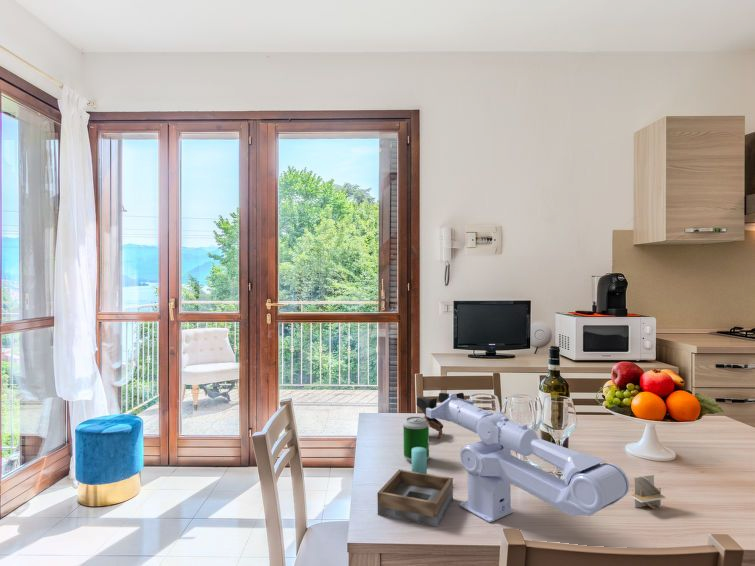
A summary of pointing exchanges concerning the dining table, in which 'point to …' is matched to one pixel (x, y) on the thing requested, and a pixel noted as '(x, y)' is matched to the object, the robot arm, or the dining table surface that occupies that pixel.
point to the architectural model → (646, 492)
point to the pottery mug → (435, 426)
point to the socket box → (416, 497)
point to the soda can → (415, 435)
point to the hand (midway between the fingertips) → (428, 398)
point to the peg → (419, 460)
